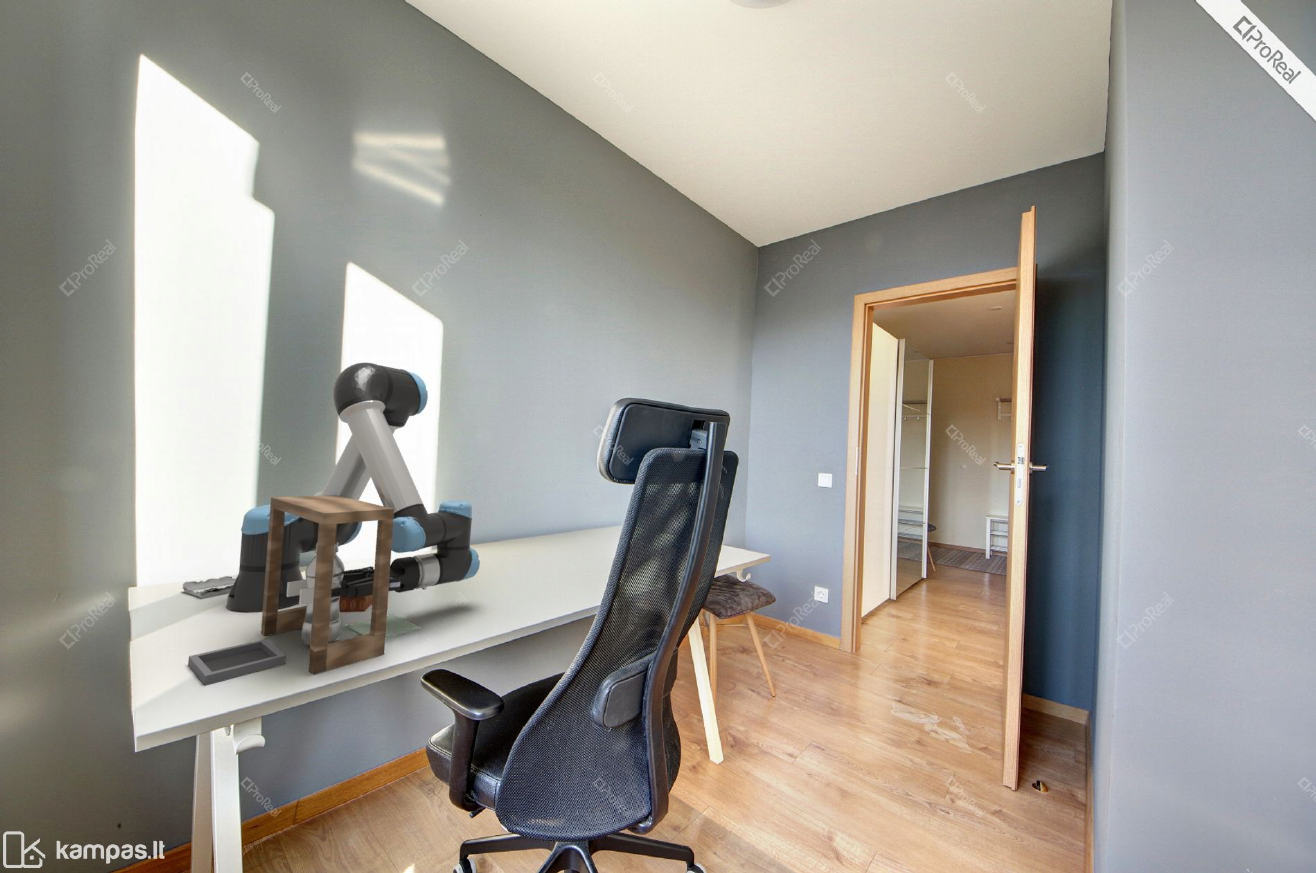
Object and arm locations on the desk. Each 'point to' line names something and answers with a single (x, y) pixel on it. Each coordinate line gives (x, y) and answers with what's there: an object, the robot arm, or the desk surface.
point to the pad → (393, 626)
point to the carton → (355, 604)
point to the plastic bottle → (334, 607)
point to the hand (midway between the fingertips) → (294, 593)
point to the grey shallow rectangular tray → (235, 661)
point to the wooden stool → (328, 577)
